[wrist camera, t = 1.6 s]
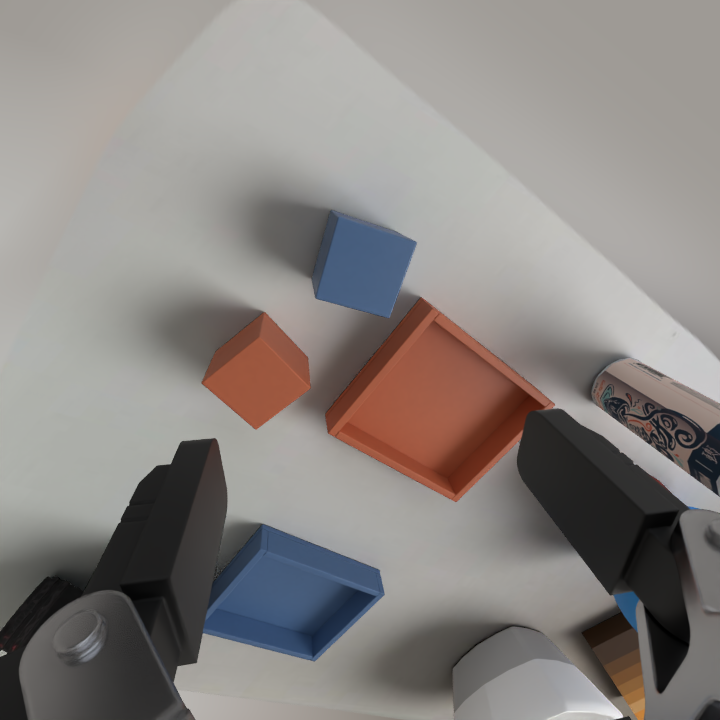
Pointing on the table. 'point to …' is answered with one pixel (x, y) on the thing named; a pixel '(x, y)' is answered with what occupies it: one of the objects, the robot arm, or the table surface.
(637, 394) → the beer can
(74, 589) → the camera
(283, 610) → the blue tray
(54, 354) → the table surface
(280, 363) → the terracotta block
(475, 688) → the bowl
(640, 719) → the pan flute
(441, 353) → the terracotta tray
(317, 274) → the blue block
